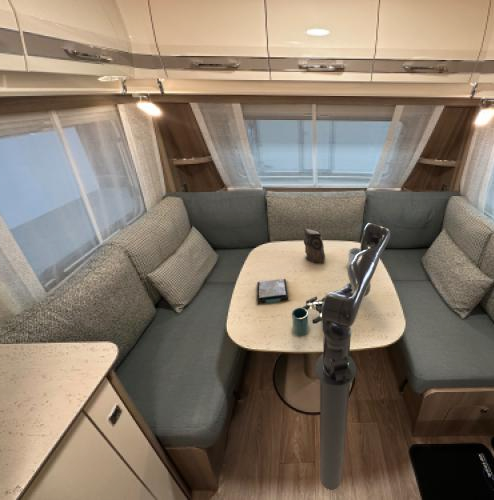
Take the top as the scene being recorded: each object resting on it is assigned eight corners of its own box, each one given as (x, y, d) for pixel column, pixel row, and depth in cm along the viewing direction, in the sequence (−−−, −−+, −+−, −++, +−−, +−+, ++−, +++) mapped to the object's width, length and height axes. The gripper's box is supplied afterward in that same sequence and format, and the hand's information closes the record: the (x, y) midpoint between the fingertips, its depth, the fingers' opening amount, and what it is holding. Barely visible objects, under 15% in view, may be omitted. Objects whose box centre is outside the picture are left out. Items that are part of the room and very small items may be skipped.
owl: (324, 264, 160) (324, 235, 150) (303, 264, 160) (302, 235, 150) (324, 253, 171) (324, 225, 161) (304, 253, 171) (303, 225, 161)
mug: (346, 264, 161) (346, 248, 155) (359, 262, 162) (360, 247, 156) (351, 275, 150) (353, 259, 145) (366, 274, 152) (368, 257, 146)
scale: (288, 301, 133) (288, 296, 131) (257, 305, 130) (257, 300, 129) (285, 282, 146) (285, 277, 144) (257, 285, 143) (257, 280, 142)
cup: (309, 334, 114) (309, 317, 109) (294, 337, 113) (293, 319, 108) (307, 323, 120) (306, 306, 114) (292, 325, 119) (291, 308, 113)
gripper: (325, 286, 127) (297, 301, 118) (345, 302, 117) (317, 319, 108) (325, 298, 130) (297, 313, 122) (345, 315, 121) (317, 332, 112)
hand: (306, 316), depth 115 cm, fingers open, 8 cm apart
